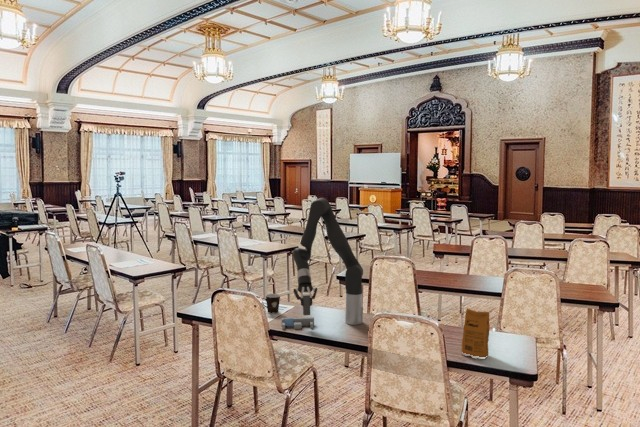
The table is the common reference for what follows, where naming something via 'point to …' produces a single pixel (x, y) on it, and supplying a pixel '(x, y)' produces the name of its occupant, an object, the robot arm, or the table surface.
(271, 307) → the coffee mug
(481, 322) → the coffee package
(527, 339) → the table surface
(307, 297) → the plug
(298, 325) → the duct
